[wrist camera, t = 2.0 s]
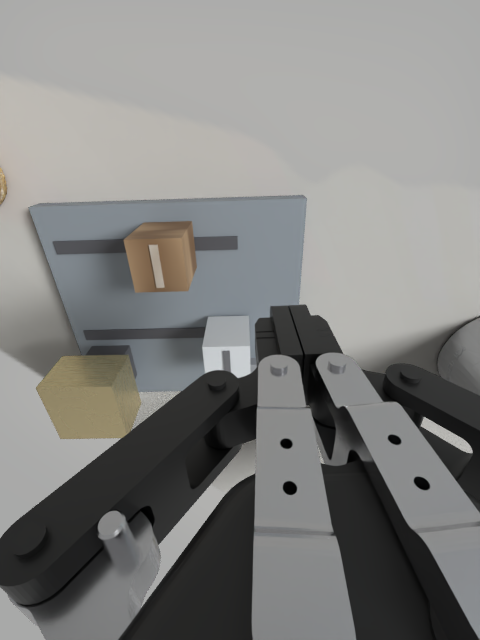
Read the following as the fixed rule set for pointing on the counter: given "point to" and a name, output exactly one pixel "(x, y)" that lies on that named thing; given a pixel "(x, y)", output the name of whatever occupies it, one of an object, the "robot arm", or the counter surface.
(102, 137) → the counter surface
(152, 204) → the board
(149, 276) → the walnut fader
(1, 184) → the sprinkles bottle
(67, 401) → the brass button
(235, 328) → the grey fader
